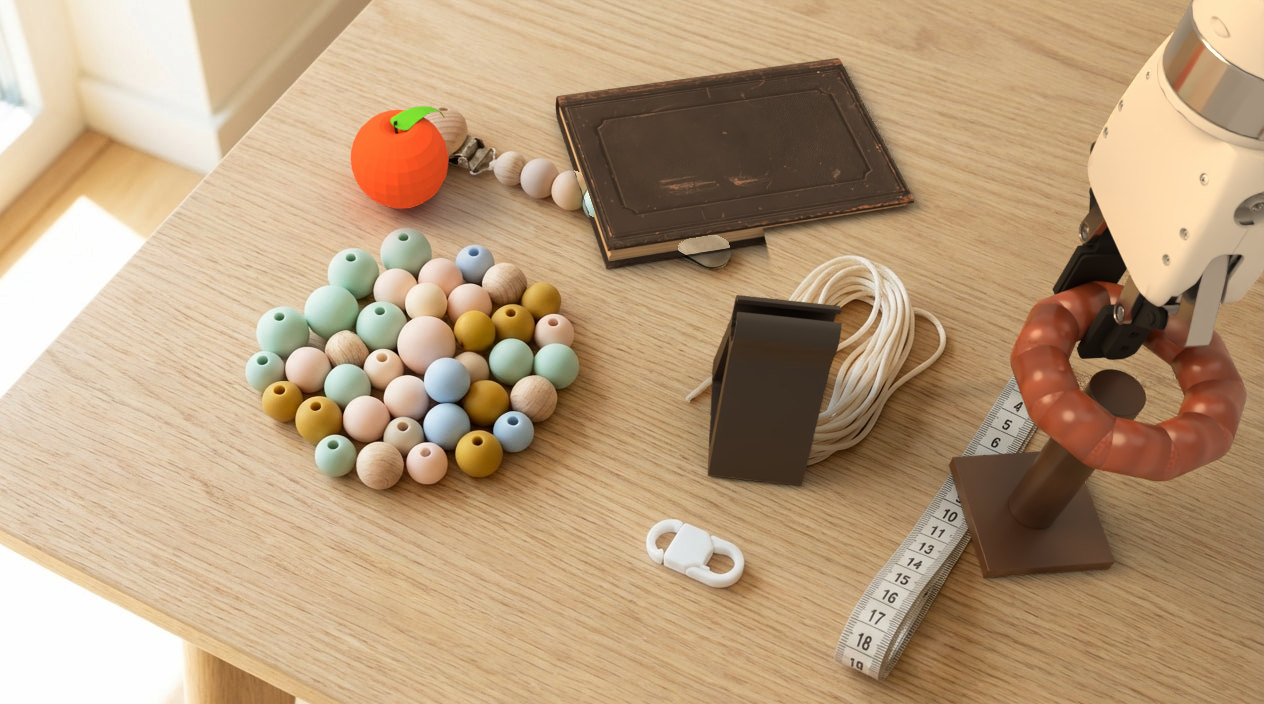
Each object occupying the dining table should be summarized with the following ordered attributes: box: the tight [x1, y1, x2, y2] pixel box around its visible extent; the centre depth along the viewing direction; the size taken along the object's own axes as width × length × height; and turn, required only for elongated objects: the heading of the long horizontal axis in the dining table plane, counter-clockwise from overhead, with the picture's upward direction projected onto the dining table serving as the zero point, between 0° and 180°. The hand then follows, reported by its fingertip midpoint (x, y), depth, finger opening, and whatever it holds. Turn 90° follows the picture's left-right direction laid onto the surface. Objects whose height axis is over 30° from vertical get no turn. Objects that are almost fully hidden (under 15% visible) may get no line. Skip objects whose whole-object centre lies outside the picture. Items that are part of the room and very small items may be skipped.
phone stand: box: [707, 294, 843, 486], centre depth 75 cm, size 9×6×12 cm, turn 174°
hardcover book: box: [555, 57, 916, 270], centre depth 92 cm, size 16×23×2 cm
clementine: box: [350, 105, 450, 210], centre depth 87 cm, size 8×7×7 cm
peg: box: [948, 368, 1147, 579], centre depth 71 cm, size 8×8×14 cm
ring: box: [1009, 281, 1248, 483], centre depth 64 cm, size 12×12×3 cm
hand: (1092, 321), depth 67 cm, fingers closed on ring, 3 cm apart
